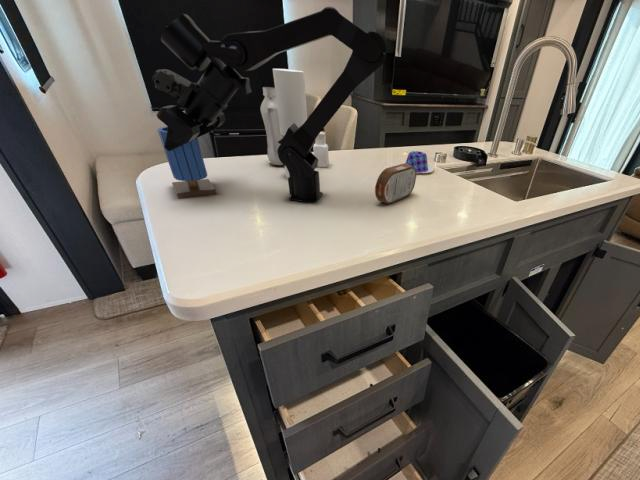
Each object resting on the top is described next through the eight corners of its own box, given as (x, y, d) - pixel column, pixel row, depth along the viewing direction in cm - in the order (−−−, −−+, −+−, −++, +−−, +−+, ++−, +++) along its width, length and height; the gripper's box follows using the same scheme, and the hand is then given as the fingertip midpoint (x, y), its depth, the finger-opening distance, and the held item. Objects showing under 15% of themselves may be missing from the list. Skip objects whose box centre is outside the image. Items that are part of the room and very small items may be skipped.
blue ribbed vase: (209, 171, 79) (196, 126, 73) (205, 180, 74) (191, 132, 68) (177, 172, 77) (162, 125, 71) (171, 181, 72) (154, 131, 66)
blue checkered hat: (416, 162, 115) (417, 147, 112) (441, 172, 109) (443, 155, 106) (391, 167, 109) (392, 150, 105) (416, 177, 102) (418, 159, 99)
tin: (407, 191, 91) (410, 159, 86) (416, 194, 89) (420, 162, 84) (373, 205, 80) (374, 170, 75) (383, 208, 79) (385, 173, 74)
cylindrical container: (317, 177, 94) (310, 72, 78) (298, 182, 89) (287, 71, 73) (299, 171, 96) (289, 69, 81) (280, 176, 91) (266, 68, 76)
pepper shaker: (326, 168, 101) (325, 134, 95) (314, 166, 101) (311, 133, 95) (329, 164, 104) (327, 132, 99) (316, 163, 104) (314, 130, 98)
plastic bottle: (277, 169, 96) (267, 89, 84) (264, 163, 99) (251, 86, 87) (295, 165, 100) (287, 89, 88) (281, 160, 103) (272, 86, 91)
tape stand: (209, 183, 82) (203, 160, 79) (216, 194, 77) (210, 170, 74) (173, 187, 78) (165, 163, 75) (178, 198, 73) (169, 173, 70)
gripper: (196, 53, 69) (160, 107, 75) (148, 53, 54) (107, 121, 60) (242, 99, 75) (205, 146, 80) (210, 111, 60) (167, 168, 66)
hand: (175, 145), depth 71 cm, fingers closed on blue ribbed vase, 7 cm apart
